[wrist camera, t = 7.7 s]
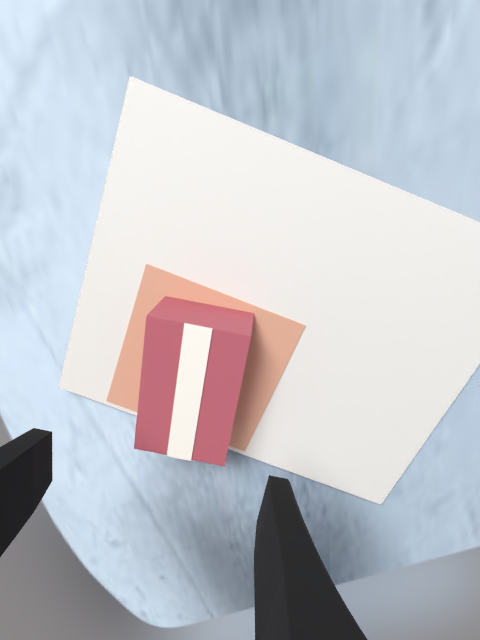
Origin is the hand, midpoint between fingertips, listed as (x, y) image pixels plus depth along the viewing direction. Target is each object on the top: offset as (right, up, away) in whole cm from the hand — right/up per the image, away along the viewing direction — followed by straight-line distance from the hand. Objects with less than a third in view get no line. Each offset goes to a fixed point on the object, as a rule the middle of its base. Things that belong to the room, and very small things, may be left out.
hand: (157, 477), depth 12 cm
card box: (+1, +3, +8) cm, 8 cm away
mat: (+5, +5, +7) cm, 10 cm away
